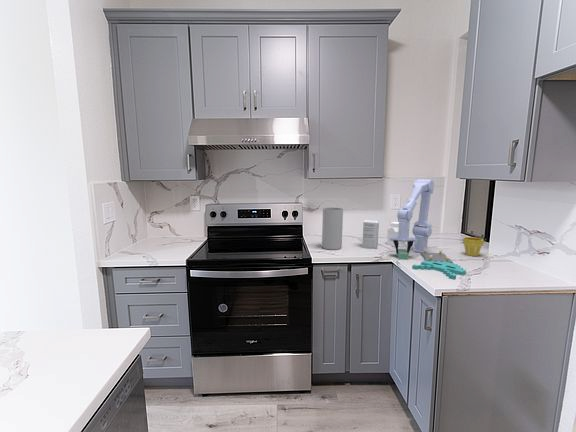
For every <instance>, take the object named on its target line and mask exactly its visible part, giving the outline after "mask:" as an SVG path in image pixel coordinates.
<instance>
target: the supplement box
mask: <svg viewBox="0 0 576 432" xmlns="http://www.w3.org/2000/svg"><path fill="white" fill-rule="evenodd" d="M362 223H363V225H362V226H363V229H362V244H361V245H362V248H363V249H375V250H378V246H379V229H380V227H379V226H380V220H373V219H364V221H363V222H362Z"/></svg>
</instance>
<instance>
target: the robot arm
mask: <svg viewBox="0 0 576 432" xmlns="http://www.w3.org/2000/svg"><path fill="white" fill-rule="evenodd" d="M412 185H413V186H412V187H413V190H412V192H411V194H410V197H409V198H408V199H407V200H406V201H405V203H404V205H403V206H402V208H401V209H399V210H398V211H397V214H396V217H397V222H399V230H398V237H390V241H393V242H394V245H395V247H394V248H395V253H396V255H397V254H398V249H399V247H398V244H399V243H398V241H404V242H405V243H406V242H407V243H406V244H407V245H406V246H407V248H406V250H407V252H408V256H409V253H410V250H411V249H412V250H413V251H414V253H415V252H416V253H420V252H424V249H427V251H426V252H429V250H428V241H429V238H430V237H431V236H432V233H433V232H432V231H433V230H432V229H433V227H432V224H431V223H430V222H429V221H428V220H429V219H428V217H429V209H430V203H431V194H433V193H434V188H435V187H434V186H435V183H434V180H433V179H429V178H428V179H425V178H424V179H423V178H419V179H418V178H415V179H414V181H413V183H412ZM419 197H420V203H419V211H418V212H419V213H418V220H417V221H415V222H414V223H413V226H412V230H411V233H412V235H413V237H410V226H411V225H410V224H411V220H412V219H413V213H414V209H415V207H416V206H417V200H418V199H419ZM412 246H413V247H412Z"/></svg>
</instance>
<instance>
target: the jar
mask: <svg viewBox="0 0 576 432" xmlns="http://www.w3.org/2000/svg"><path fill="white" fill-rule="evenodd" d="M398 230H399V222H398V221H391V222H390V226H389V227H388V229H387V240H386V241H387V242H386V245H387V244H388V246H390V245H392V246H391V247H393V246H394V248H395V245H394V242H393V241H390V237H398ZM398 243H399V244H398V248H404V247H406V242H404V241H398Z"/></svg>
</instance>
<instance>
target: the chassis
mask: <svg viewBox="0 0 576 432" xmlns="http://www.w3.org/2000/svg"><path fill="white" fill-rule="evenodd" d="M427 250H428V248H427V249H424V252H419V254H420V255H421V257H422V258H423V259H424V261H435V262H437V261H440V262H444V261H445V262H450V263H454V262H453V260H452V259H450V256H449V255H446V254H445V253H443V252H442V250H443V249H439V252H429V251H428V252H426V251H427Z"/></svg>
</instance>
